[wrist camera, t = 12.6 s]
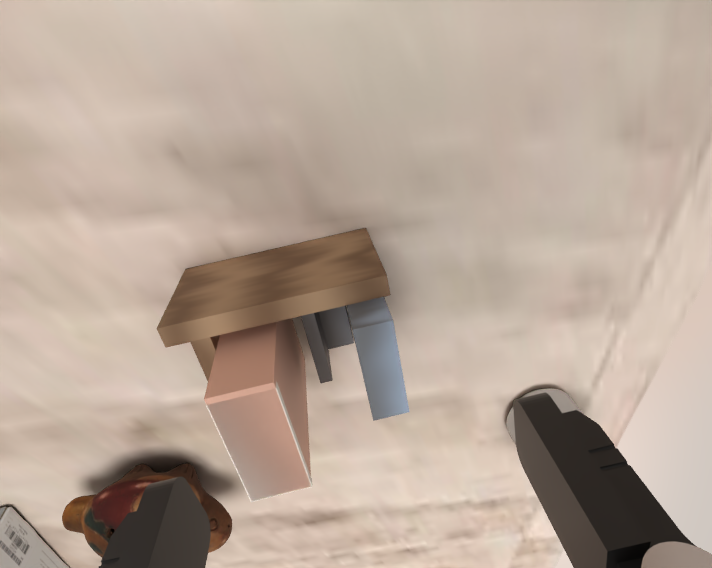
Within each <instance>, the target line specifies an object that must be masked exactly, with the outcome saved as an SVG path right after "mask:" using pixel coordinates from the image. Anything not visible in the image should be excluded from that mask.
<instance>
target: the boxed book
mask: <svg viewBox="0 0 712 568" xmlns="http://www.w3.org/2000/svg"><path fill="white" fill-rule="evenodd" d="M204 400H205V402H206V406H207V408H208V411H209V413H210V415H211V417H212V419H213V421H214V423H215V425H216V428H217V430H218V432H219V434H220V436H221V438H222V440H223V443H224V445H225V447H226V449H227V451H228V453H229V455H230V458H231V460H232V462H233V464H234V466H235V468H236V470H237V472H238V475H239V477H240V479H241V481H242V483H243V485H244V487H245V490H246V492H247V494H248V496H249V498H250V500H251V502H253V501H257V500H261V499H265V498H269V497H273V496H277V495H281V494H285V493H289V492H293V491H297V490H301V489H305V488H309V487H312V479H311V473H310V453H309V434H308V414H307V395H306V376H305V359H304V356H303V353H302V349H301V346H300V343H299V340H298V337H297V333H296V330H295V327H294V324H293V320H292V318H290V319H286V320H282V321H277V322H273V323H269V324H264V325H260V326H256V327H252V328H247V329H243V330H239V331H234V332H230V333H226V334H222V335H220V337H219V341H218V345H217V349H216V353H215V357H214V361H213V365H212V369H211V373H210V377H209V381H208V385H207V389H206V394H205V398H204Z"/></svg>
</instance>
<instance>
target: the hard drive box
mask: <svg viewBox="0 0 712 568" xmlns="http://www.w3.org/2000/svg"><path fill="white" fill-rule="evenodd" d="M0 568H69V567H68V566H67V565H66V564H65V563H64V562H63V561H62V560H61V559H60V558H59V557H58V556H57V555H56V554H55V553H54V552H53V550H52V549H51V548H50V547H49V546H48V545H47V544H46V543H45V542H44V541H43V540H42V539H41V538H40V537H39V535H38V534H37V533H36V531H35V530H34V529H33V528H32V527H31V526H30V525H29V524H28V523H27V522H26V521H25V520H23V518H22V517H21V516H20V515H19V514H18V513H17V512H16V511H15V510H14V509H13V508H12V507H8V508H7V507H2V508H0Z"/></svg>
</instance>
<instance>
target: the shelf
mask: <svg viewBox="0 0 712 568" xmlns="http://www.w3.org/2000/svg"><path fill="white" fill-rule="evenodd" d="M389 295H390V290H389V285H388V279H387V274H386V272H385V270H384V268H383V266H382V263H381V261H380V259H379V257H378V254H377V252H376V250H375V248H374V245H373V243H372V241H371V239H370V236H369V234H368V232H367V230H366V228H363V229H359V230H355V231H350V232H346V233H341V234H337V235H333V236H328V237H324V238H319V239H315V240H311V241H306V242H302V243H298V244H293V245H289V246H284V247H280V248H276V249H271V250H267V251H263V252H258V253H254V254H249V255H245V256H241V257H236V258H232V259H228V260H223V261H219V262H214V263H210V264H206V265H201V266H197V267H193V268H188V269H185V271H184V273H183V275H182V277H181V279H180V281H179V284H178V286H177V288H176V290H175V292H174V294H173V296H172V298H171V300H170V302H169V304H168V306H167V308H166V310H165V312H164V315H163V317H162V319H161V321H160V323H159V325H158V327H157V330H158V332H159V334H160V337H161V339H162V341H163V343H164V345H165V347H170V346H174V345H179V344H183V343H187V342H191V344H192V346H193V349H194V351H195V353H196V356H197V358H198V360H199V362H200V365H201V367H202V369H203V371H204V374H205V376H206V378H207V380H208V381H209V377H210V373H211V369H212V365H213V361H214V357H215V353H216V349H217V345H218V341H219V337H220V335H222V334H226V333H230V332H234V331H239V330H243V329H247V328H252V327H256V326H260V325H264V324H269V323H273V322H277V321H282V320H286V319H290V318H294V317H299V316H301V318H302V321H303V324H304V328H305V331H306V335H307V338H308V342H309V345H310V348H311V352H312V355H313V359H314V362H315V366H316V369H317V372H318V376H319V379H320V383H324V382H328V381H332V373H331V366H330V358H329V351H328V349H331V348H335V347H339V346H344V345H348V344H352V343H354V342H353V337H352V333H351V329H350V324H349V320H348V316H347V312H346V307H345V306H346V305H347V309H348V313H349V317H350V322H351V326H352V330H353V335H354V339H355V343H356V347H357V352H358V356H359V360H360V365H361V369H362V373H363V378H364V382H365V386H366V391H367V395H368V399H369V403H370V408H371V412H372V416H373V421H374V420H378V419H382V418H387V417H391V416H395V415H399V414H403V413H407V412H409V407H408V401H407V396H406V390H405V385H404V379H403V373H402V368H401V362H400V357H399V351H398V345H397V340H396V334H395V329H394V323H393V319H392V316H391V314H390V311H389V309H388V306H387V304H386V301H385V299H384V296H389Z"/></svg>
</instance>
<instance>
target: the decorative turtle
mask: <svg viewBox="0 0 712 568" xmlns="http://www.w3.org/2000/svg"><path fill="white" fill-rule="evenodd" d="M176 477H184V478H185V479H186V480H187V482H188V484H189V485H190V487H191V488H192V490H193V492H194V493H195V495H196V497H197V498H198V500H199V502H200V503H201V505H202V507H203V508H204V510H205V511H206V513H207V515H208V518H209V522H210V530H211V537H210V545H209V550H208V553H209V552H212V551H215V550H217V549H219V548H220V547H221V546H222V545H224V543H225V542H226V541H227V540H228V538H229V537H230V534H231V530H232V519H231V517H230V515H229V513H228V512H227V511H226V509H225V508H224V507H223V506H222V504H220V503H219V502H218V501H217V500H216V499H215V498H213V497H211V496H210V495H209V494H207V493H206V492H205V490H204V489H203V488H202V485H201V483H200V481H199V479H198V476H197V474H196V471H195V469H194V467H193V466H192V465H191V464H189V463H185V464H181V465H179V466H177V467H176V468H174V469H172V470H170V471H168V472H164V473H156V472H154V471H153V470H152V469H151V468H150V467H149V466H147V465H145V464H140V465H137V466H136V467H135V468H134V469H132V470H131V471H129V472H128V473H127V474H126V475H125V476H124V477H123V478H122V479H120V480H118V481H117V482H115V483H114V484H112V485H110V486H108V487H107V488H105V489H104V490H102V491H101V492H99V493H98V494H97V495H89V496H81V497H78V498H75V499H74V500H72V501H71V502H70V503H69V504H68V505H67V506H66V507H65V510H64V512H63V516H62V521H63V525H64V527H65V528H66V529H67V530H70V531H74V532H80V533H83V534H84V535H85V538H86V540H87V543H88V544H89V545H90V547H91V548H92V549H93V550H94V551H95V552H96V553H97V554H98V555H99V556H101V557H102V558H103V555H104V553H105V550H106V548H107V545H108V543H109V540H110V538H111V536H112V535H113V533H114V532H115V530H116V529H117V528H118V526H119V525H120V524H121V522H122V521H123V519H124V518H125V517H126V515H127V514H128V513H131V512H135V511H137V509H138V506H139V503H140V500H141V498H142V495H143V492H144V490H145V488H146V487H147V486H148V485H149V484H151V483H155V482H159V481H164V480H168V479H172V478H176Z"/></svg>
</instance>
